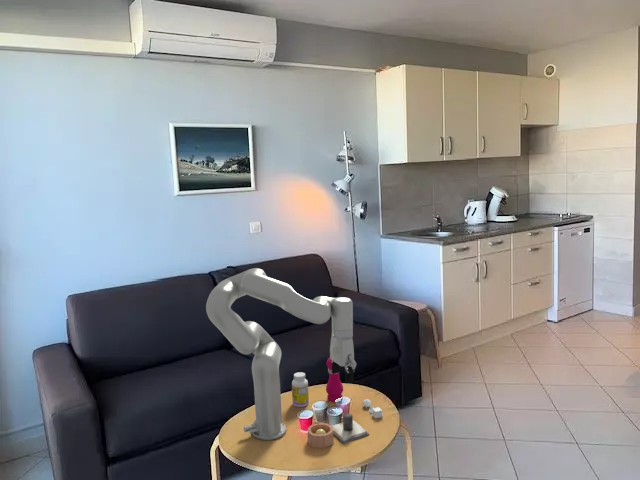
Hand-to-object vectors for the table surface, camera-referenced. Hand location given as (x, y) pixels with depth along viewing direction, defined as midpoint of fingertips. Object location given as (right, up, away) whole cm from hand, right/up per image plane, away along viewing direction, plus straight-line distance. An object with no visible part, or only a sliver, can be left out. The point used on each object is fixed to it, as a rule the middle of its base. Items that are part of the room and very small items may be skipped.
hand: (342, 377), depth 192 cm
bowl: (-8, -22, -3) cm, 23 cm away
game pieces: (+12, -18, +18) cm, 28 cm away
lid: (+2, -20, +2) cm, 20 cm away
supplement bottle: (-16, -18, +26) cm, 35 cm away
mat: (+2, -21, +2) cm, 21 cm away
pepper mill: (-2, -17, +29) cm, 34 cm away
